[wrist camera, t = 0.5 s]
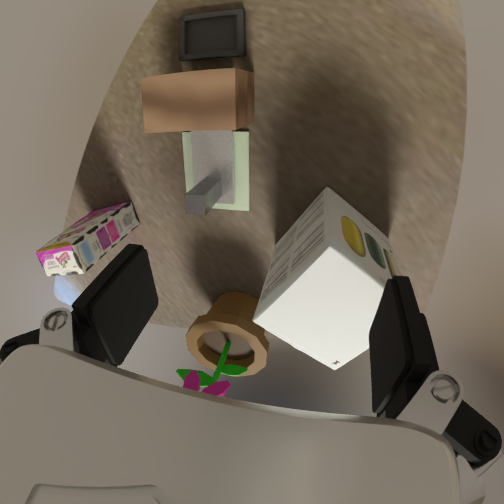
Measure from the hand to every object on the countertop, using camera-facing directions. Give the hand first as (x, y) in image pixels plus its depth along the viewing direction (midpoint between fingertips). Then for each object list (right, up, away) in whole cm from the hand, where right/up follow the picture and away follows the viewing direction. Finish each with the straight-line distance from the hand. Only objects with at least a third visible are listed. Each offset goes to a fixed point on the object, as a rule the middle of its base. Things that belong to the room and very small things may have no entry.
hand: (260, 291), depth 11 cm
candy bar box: (-26, +8, +41) cm, 49 cm away
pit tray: (-6, +31, +21) cm, 38 cm away
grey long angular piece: (-6, +18, +29) cm, 35 cm away
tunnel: (-6, +23, +26) cm, 35 cm away
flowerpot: (-3, -10, +46) cm, 47 cm away
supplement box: (+12, +3, +34) cm, 36 cm away
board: (-6, +14, +32) cm, 35 cm away
